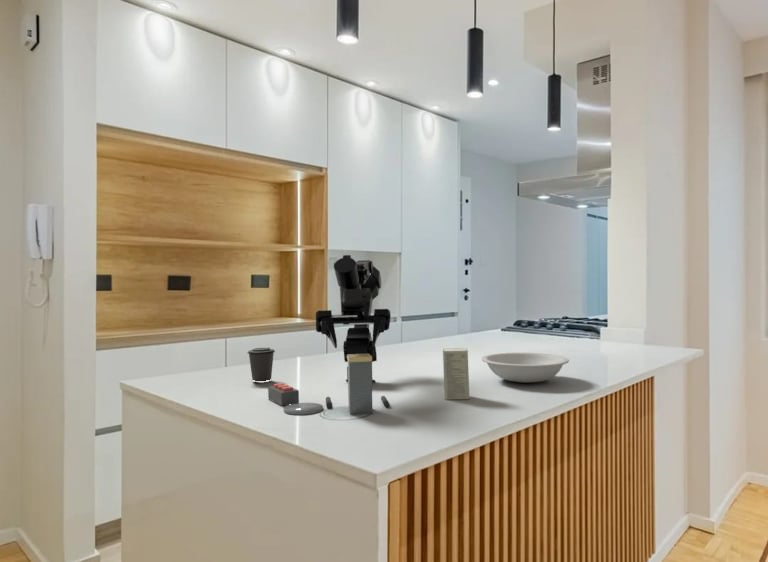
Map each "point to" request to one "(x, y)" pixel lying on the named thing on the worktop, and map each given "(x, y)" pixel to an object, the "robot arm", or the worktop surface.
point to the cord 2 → (385, 401)
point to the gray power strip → (283, 394)
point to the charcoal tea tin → (360, 383)
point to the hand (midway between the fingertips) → (355, 346)
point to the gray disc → (303, 408)
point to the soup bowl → (525, 366)
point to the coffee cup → (261, 363)
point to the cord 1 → (328, 402)
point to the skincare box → (456, 373)
